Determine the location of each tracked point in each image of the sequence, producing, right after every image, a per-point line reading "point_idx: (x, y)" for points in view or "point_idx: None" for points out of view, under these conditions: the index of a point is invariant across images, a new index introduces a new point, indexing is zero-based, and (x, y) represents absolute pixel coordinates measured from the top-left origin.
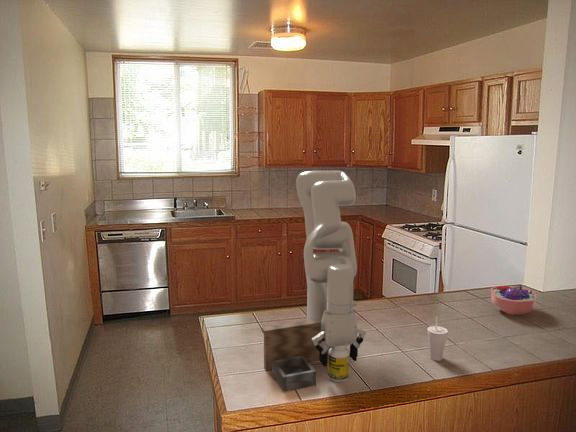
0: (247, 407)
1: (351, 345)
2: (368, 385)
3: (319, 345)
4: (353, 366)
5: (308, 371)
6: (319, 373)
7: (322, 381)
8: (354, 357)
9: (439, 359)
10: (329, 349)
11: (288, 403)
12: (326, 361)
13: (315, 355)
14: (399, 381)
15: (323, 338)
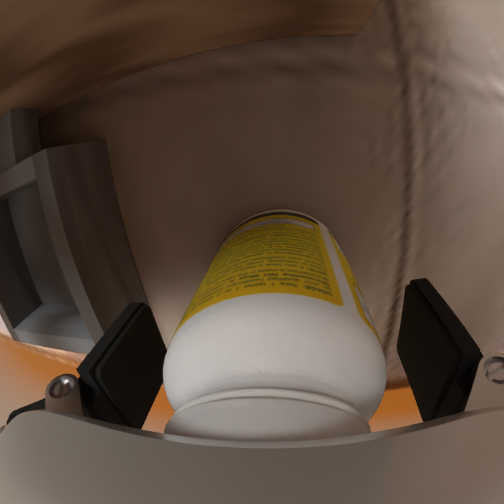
0: (5, 333)
1: (455, 376)
2: (387, 356)
3: (180, 2)
4: (421, 170)
5: (80, 344)
6: (182, 200)
7: (183, 284)
8: (405, 368)
9: None
10: (169, 369)
11: (72, 361)
12: (155, 390)
13: (175, 42)
14: (494, 342)
15: (31, 425)
